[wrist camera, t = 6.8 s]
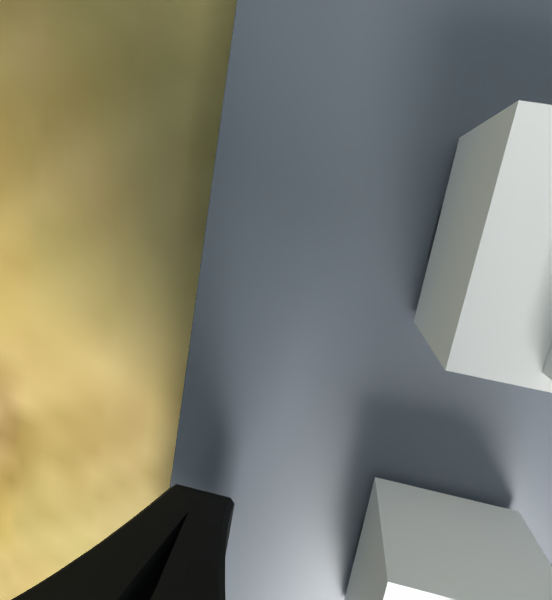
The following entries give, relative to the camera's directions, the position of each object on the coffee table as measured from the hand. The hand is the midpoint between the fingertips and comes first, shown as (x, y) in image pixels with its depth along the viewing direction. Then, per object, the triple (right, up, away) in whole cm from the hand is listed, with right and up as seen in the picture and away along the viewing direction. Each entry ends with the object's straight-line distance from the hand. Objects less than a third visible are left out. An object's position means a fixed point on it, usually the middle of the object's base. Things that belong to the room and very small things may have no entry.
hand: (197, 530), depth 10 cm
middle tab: (+6, +6, -1) cm, 9 cm away
